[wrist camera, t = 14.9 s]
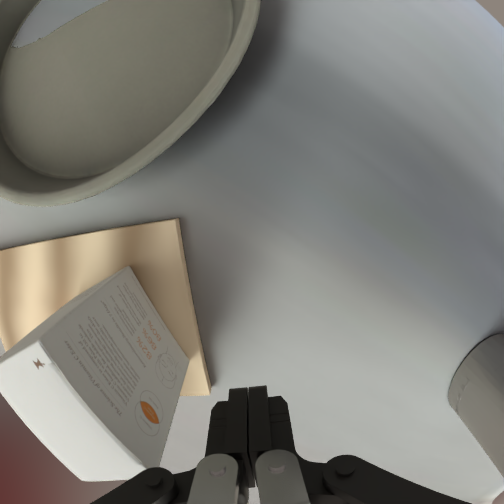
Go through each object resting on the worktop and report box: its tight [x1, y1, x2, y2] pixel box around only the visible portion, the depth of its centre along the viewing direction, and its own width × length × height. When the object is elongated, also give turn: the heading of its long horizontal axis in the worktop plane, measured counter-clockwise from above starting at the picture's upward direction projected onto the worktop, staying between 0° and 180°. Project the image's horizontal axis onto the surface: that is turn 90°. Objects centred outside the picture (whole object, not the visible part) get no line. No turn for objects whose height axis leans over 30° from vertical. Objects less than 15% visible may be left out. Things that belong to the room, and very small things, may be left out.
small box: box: [0, 266, 190, 481], centre depth 15 cm, size 8×6×10 cm
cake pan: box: [0, 0, 261, 207], centre depth 14 cm, size 25×25×4 cm
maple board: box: [0, 218, 211, 396], centre depth 20 cm, size 20×13×1 cm, turn 97°
